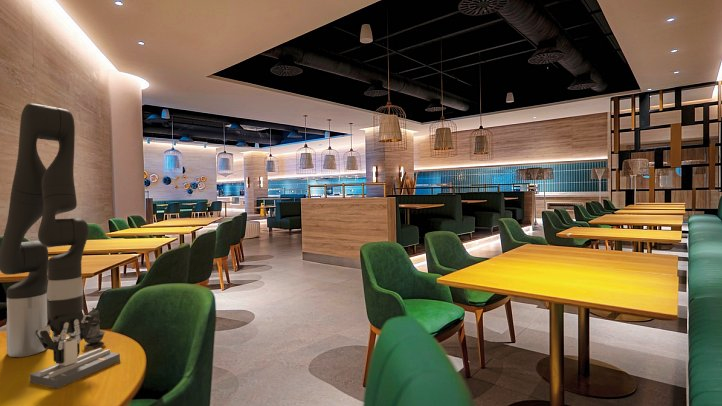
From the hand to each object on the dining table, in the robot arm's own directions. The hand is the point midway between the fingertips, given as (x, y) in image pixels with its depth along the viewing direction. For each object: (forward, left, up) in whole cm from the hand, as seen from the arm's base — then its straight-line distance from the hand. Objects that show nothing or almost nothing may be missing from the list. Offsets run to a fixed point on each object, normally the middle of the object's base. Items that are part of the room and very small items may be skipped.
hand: (66, 359), depth 104 cm
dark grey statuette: (-13, +17, -4) cm, 22 cm away
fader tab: (0, 0, -2) cm, 2 cm away
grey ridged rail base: (0, +3, -4) cm, 5 cm away
